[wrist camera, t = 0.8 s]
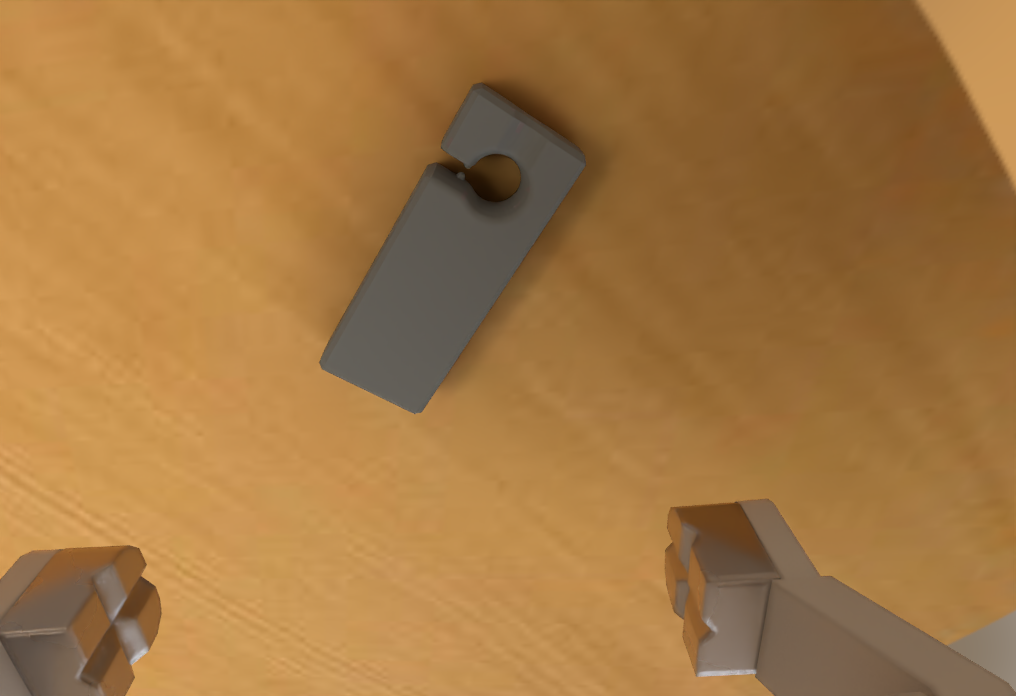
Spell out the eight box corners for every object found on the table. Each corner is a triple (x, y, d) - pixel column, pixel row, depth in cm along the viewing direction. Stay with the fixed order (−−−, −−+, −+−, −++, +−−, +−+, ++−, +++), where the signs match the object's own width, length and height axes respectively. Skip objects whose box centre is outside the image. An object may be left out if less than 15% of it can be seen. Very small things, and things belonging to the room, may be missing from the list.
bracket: (326, 342, 23) (314, 369, 22) (475, 76, 20) (475, 83, 18) (423, 390, 24) (419, 419, 23) (581, 147, 21) (591, 160, 19)
